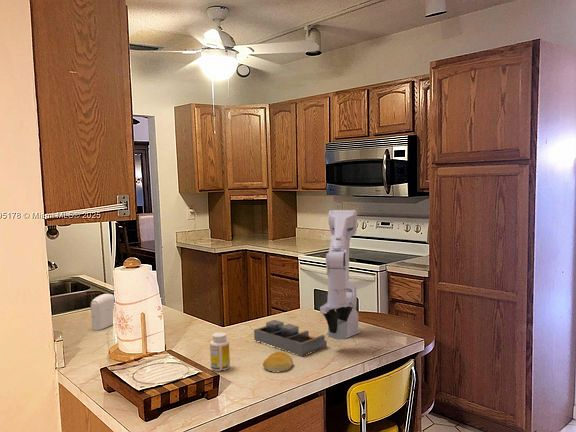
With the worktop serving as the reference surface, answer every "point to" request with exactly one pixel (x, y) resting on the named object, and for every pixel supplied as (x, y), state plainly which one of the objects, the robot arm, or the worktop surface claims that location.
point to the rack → (289, 338)
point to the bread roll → (278, 362)
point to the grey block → (339, 330)
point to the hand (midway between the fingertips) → (337, 330)
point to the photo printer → (102, 311)
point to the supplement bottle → (219, 352)
